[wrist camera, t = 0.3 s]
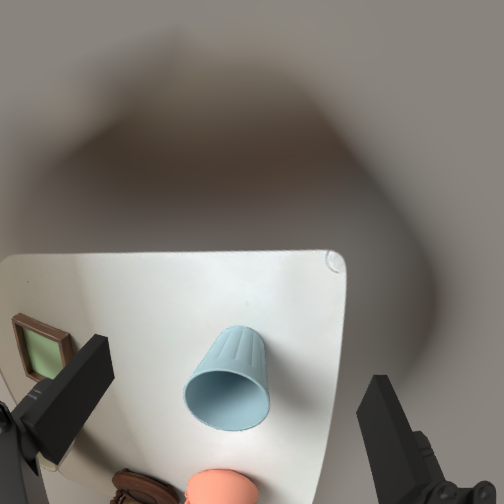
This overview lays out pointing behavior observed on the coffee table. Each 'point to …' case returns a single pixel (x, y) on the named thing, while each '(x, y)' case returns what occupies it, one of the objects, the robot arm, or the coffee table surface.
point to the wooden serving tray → (41, 347)
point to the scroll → (141, 490)
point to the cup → (230, 382)
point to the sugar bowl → (220, 488)
